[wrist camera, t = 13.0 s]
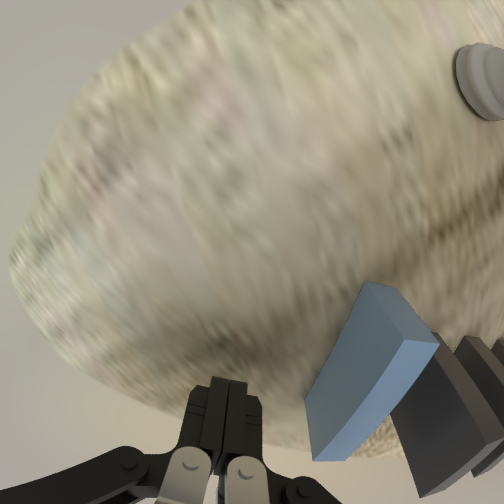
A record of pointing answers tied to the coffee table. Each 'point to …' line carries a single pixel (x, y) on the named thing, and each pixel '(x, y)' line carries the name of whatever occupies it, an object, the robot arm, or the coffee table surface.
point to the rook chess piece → (482, 79)
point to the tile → (366, 372)
